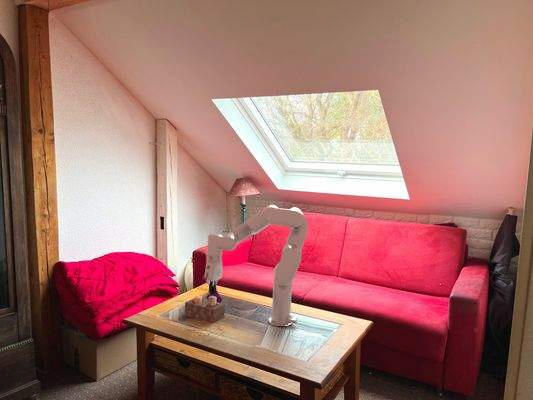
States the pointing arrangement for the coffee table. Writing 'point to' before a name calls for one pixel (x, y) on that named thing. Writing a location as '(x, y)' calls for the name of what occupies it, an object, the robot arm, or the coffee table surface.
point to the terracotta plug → (198, 299)
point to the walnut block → (204, 310)
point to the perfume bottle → (215, 296)
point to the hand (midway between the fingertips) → (212, 292)
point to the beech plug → (212, 301)
